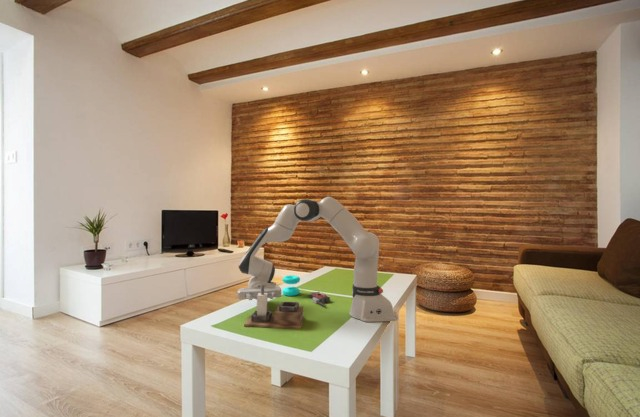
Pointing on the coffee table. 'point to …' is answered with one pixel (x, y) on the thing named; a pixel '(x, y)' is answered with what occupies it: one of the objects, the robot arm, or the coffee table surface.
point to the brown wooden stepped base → (279, 317)
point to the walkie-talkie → (319, 298)
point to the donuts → (291, 290)
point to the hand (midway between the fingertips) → (261, 297)
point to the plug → (262, 303)
